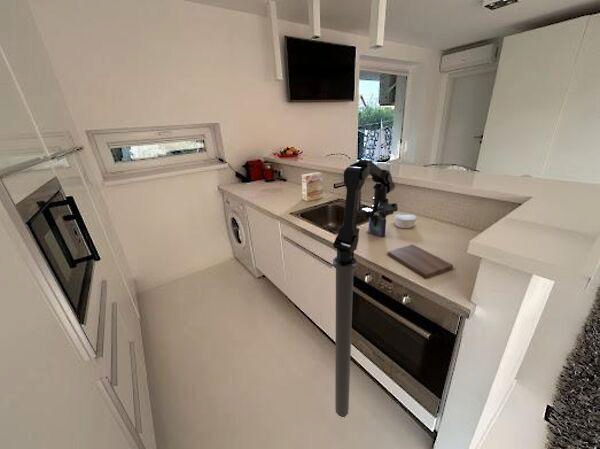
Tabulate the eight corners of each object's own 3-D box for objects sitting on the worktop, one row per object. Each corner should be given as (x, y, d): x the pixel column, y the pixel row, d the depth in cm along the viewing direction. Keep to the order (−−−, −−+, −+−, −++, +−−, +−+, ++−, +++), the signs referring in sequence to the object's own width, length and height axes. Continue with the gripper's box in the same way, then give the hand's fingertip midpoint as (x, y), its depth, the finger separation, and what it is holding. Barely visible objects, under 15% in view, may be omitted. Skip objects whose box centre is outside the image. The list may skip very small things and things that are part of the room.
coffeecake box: (307, 201, 186) (306, 175, 179) (302, 199, 192) (301, 174, 185) (323, 197, 193) (322, 173, 186) (318, 195, 199) (317, 171, 192)
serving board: (425, 278, 89) (426, 274, 89) (387, 254, 107) (387, 251, 106) (452, 268, 94) (453, 265, 94) (412, 247, 111) (412, 244, 111)
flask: (366, 232, 128) (368, 212, 125) (369, 231, 130) (371, 211, 127) (383, 237, 122) (385, 216, 119) (386, 235, 124) (388, 215, 121)
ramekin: (409, 221, 140) (410, 212, 138) (419, 228, 130) (420, 219, 128) (390, 222, 140) (391, 213, 138) (398, 229, 130) (399, 220, 128)
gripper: (375, 203, 109) (373, 235, 114) (407, 197, 115) (404, 227, 121) (360, 197, 118) (359, 227, 124) (390, 192, 125) (388, 220, 130)
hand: (377, 225), depth 125 cm, fingers closed on flask, 3 cm apart
